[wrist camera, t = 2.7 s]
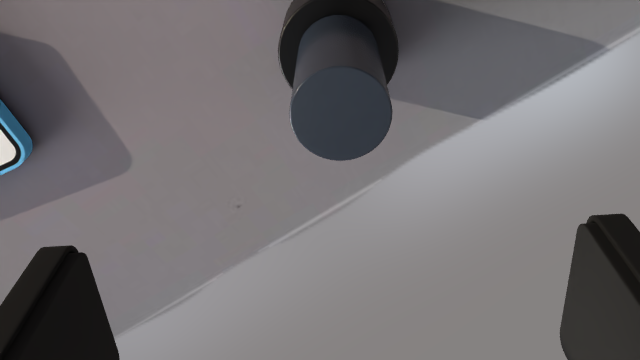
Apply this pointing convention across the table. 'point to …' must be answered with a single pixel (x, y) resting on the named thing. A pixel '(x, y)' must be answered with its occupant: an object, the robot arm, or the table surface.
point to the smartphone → (12, 141)
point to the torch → (339, 74)
